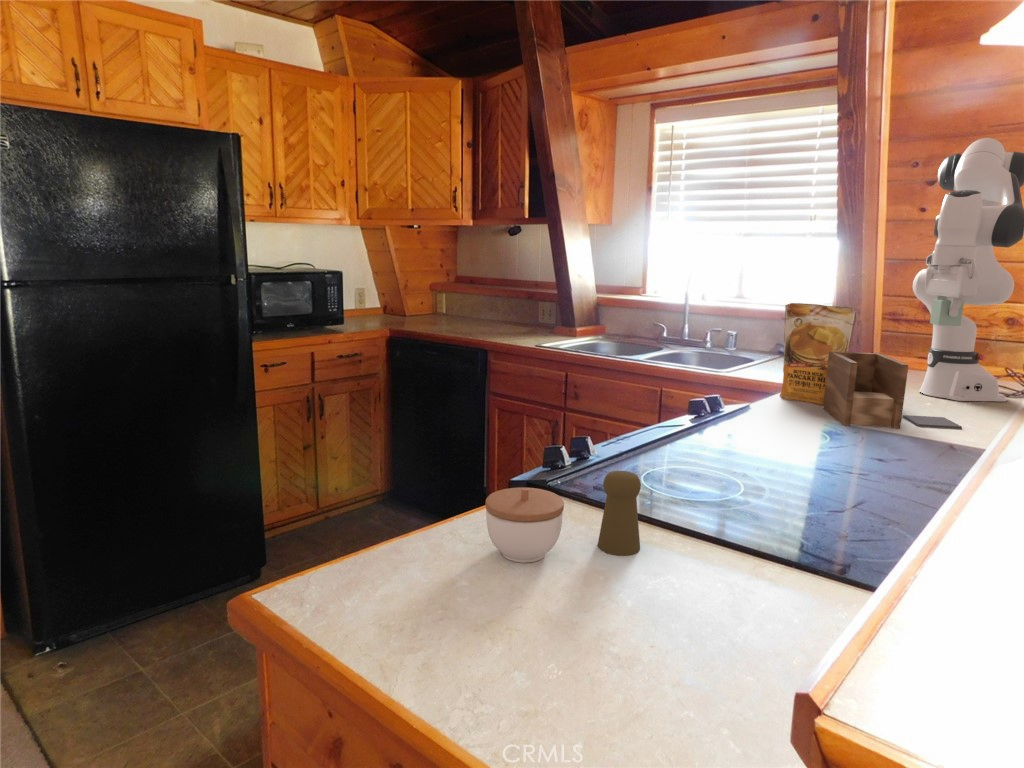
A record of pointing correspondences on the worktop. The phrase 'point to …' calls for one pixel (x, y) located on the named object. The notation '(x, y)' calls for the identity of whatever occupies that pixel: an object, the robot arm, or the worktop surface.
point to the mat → (931, 422)
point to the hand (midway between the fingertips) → (946, 315)
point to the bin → (865, 389)
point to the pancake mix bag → (812, 347)
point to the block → (945, 314)
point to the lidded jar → (524, 522)
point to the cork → (620, 514)
